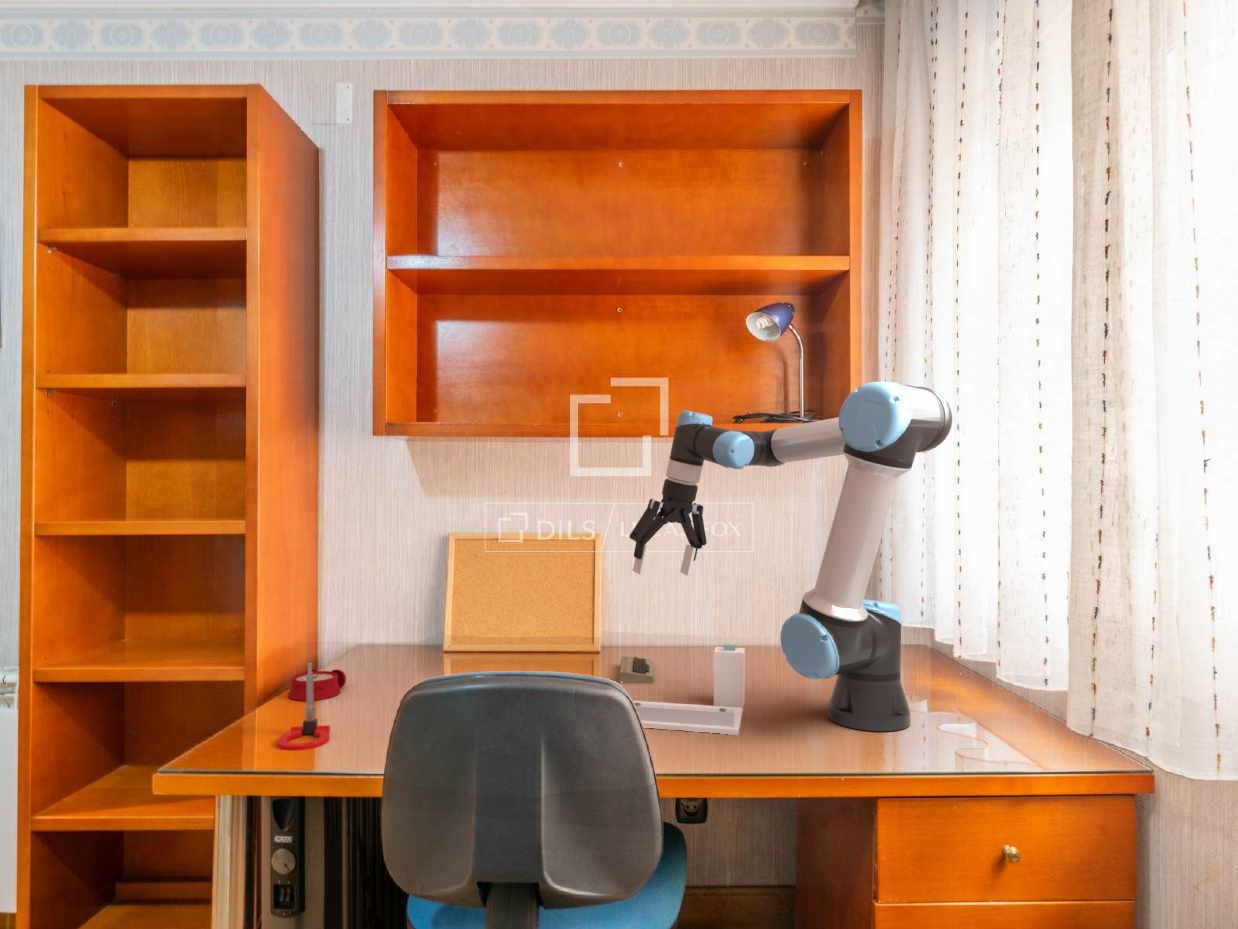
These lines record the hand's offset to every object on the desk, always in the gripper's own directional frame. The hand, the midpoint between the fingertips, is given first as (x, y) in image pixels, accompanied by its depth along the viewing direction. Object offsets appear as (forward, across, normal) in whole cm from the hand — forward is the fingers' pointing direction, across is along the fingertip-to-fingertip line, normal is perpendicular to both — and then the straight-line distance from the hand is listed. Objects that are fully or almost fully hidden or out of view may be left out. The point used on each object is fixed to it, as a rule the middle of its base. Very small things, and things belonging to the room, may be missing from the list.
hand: (661, 573), depth 175 cm
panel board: (+21, +10, +26) cm, 35 cm away
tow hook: (+32, +72, 0) cm, 79 cm away
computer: (+27, -4, -6) cm, 28 cm away
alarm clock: (+38, +62, -30) cm, 79 cm away
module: (+20, -6, +23) cm, 31 cm away
